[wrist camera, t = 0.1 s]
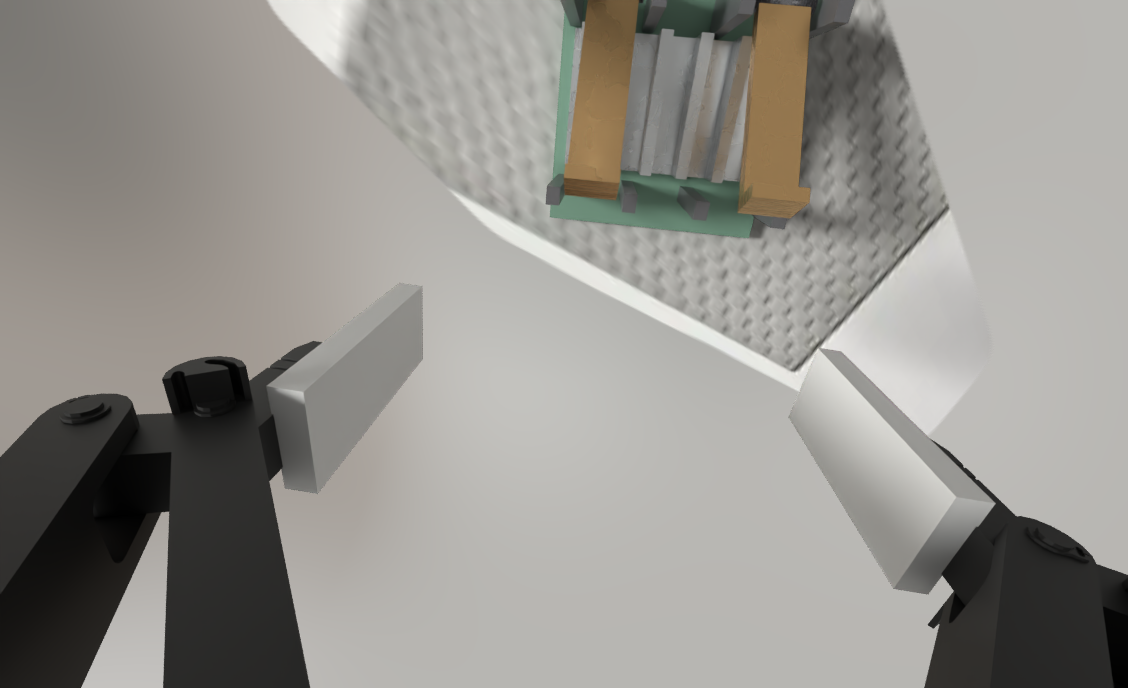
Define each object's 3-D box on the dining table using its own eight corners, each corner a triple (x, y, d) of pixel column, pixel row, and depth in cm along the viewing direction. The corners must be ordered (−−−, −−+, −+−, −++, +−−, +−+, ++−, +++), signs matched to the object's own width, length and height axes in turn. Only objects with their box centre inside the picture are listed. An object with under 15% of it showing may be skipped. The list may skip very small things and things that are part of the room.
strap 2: (749, -1, 28) (765, -37, 26) (809, 4, 28) (830, -32, 26) (730, 213, 27) (746, 196, 24) (793, 220, 27) (815, 203, 24)
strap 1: (586, -15, 28) (586, -52, 26) (644, -10, 28) (650, -47, 26) (559, 196, 27) (558, 177, 25) (620, 202, 27) (624, 183, 25)
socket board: (569, -24, 33) (567, -30, 32) (805, -4, 33) (814, -9, 31) (551, 214, 41) (549, 217, 40) (744, 234, 40) (748, 238, 39)
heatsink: (576, 31, 34) (573, 20, 30) (784, 49, 33) (805, 41, 29) (566, 162, 38) (561, 167, 34) (750, 181, 37) (766, 187, 33)
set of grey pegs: (572, -15, 32) (562, -57, 25) (803, 4, 32) (865, -32, 24) (557, 188, 39) (544, 205, 31) (750, 208, 38) (786, 230, 30)
